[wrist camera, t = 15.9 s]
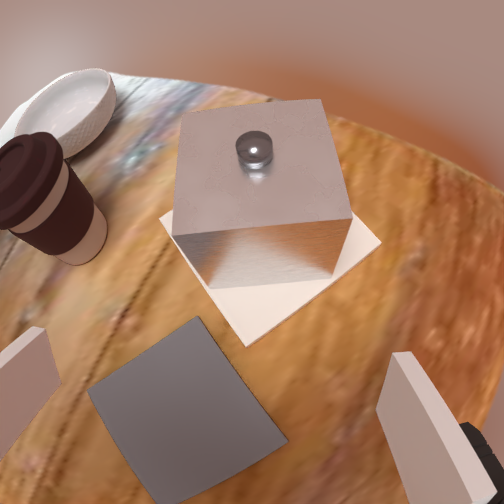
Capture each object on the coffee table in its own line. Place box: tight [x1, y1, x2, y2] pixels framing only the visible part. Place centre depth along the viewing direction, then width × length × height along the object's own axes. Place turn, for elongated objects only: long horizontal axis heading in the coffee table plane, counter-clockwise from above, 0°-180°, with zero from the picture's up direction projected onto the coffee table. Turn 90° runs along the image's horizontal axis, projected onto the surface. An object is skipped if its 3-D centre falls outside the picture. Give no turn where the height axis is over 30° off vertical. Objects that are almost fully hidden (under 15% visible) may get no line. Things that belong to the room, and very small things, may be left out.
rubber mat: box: [87, 316, 289, 504], centre depth 26 cm, size 14×14×1 cm
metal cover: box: [171, 99, 353, 289], centre depth 26 cm, size 11×11×12 cm
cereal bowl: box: [15, 68, 116, 159], centre depth 39 cm, size 17×17×7 cm
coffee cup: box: [0, 132, 107, 265], centre depth 28 cm, size 10×10×15 cm
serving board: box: [159, 209, 381, 348], centre depth 32 cm, size 16×16×1 cm
